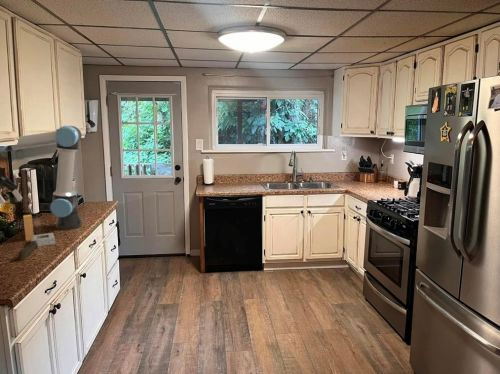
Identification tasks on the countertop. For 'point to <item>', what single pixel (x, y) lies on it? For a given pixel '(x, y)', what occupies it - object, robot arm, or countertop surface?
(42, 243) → the square frame
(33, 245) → the hand tool
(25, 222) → the orange rectangular block
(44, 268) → the countertop surface
